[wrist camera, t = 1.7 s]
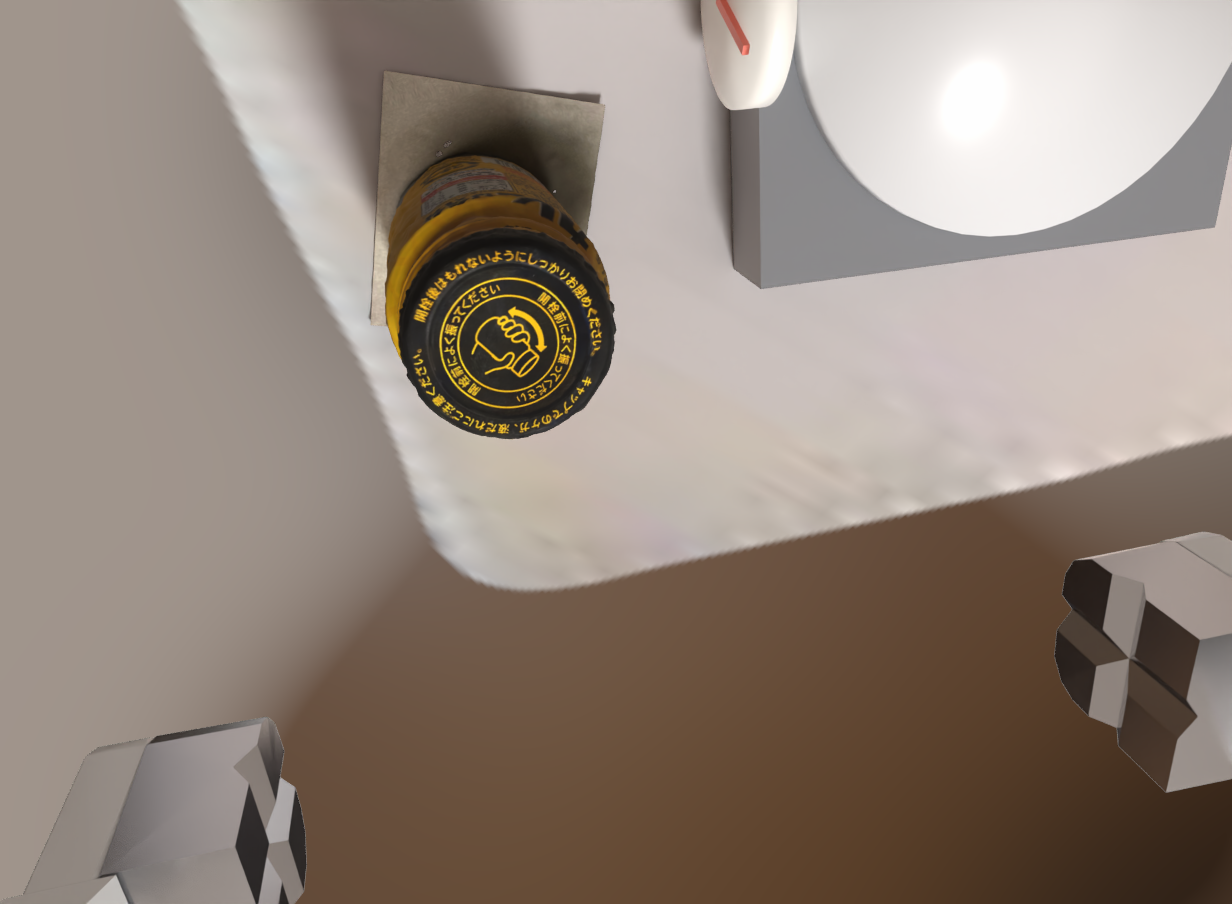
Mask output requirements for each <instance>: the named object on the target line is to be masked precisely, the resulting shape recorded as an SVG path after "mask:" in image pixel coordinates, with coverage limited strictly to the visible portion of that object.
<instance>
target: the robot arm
mask: <svg viewBox="0 0 1232 904" xmlns="http://www.w3.org/2000/svg"><path fill="white" fill-rule="evenodd" d="M1062 595H1063V597H1064V598H1065V599H1066V601H1067V602H1068V604H1069V605H1070V606H1071V608H1072V611H1071V612H1070V613H1069V615H1068V616H1067V617H1066V619H1065V620H1064V621H1063V622H1062V624H1061V625H1060V626H1059V628H1058V629H1057V634H1056V644H1055V655H1054V657H1055V660H1056V664H1057V667H1058V671H1059V675H1060V678H1061V682H1062V683H1063V685H1064V687H1065V688H1066V690H1067V692H1068V693H1069V695H1070V697H1071V698H1072V700H1073V701H1074V702H1075V703H1076V704H1077V705H1078V706H1079V707H1080V708H1081V709H1082V710H1083V711H1084V712H1085V713H1086V714H1087V715H1088V716H1089V717H1092V718H1094V719H1097V720H1099V721H1102V722H1104V723H1106V724H1109V725H1111V726H1114V727H1116V728H1117V734H1118V746H1119V747H1120V748H1121V749H1122V750H1123V751H1124V752H1125V753H1126V754H1127V755H1128V756H1129V757H1130V758H1131V759H1132V760H1133V761H1134V762H1135V763H1137V765H1138V766H1139V767H1140V768H1142V769H1143V770H1144V771H1145V772H1146V773H1147V774H1148V775H1149V776H1150V777H1151V778H1152V779H1153V780H1154V781H1155V782H1156V783H1157V784H1158V785H1159V786H1160V787H1161V788H1162V789H1163V790H1164V791H1165V792H1171V791H1176V790H1180V789H1185V788H1190V787H1195V786H1200V785H1204V784H1209V783H1214V782H1219V781H1223V780H1228V779H1232V541H1230V540H1229V539H1227V538H1226V537H1224V536H1222V535H1219V534H1213V533H1208V532H1200V533H1195V534H1191V535H1187V536H1182V537H1177V538H1173V539H1169V540H1164V541H1161V542H1159V543H1158V544H1153V545H1148V546H1143V547H1138V548H1133V549H1128V550H1123V551H1118V552H1113V553H1108V554H1103V555H1098V556H1093V557H1089V558H1083V559H1079V560H1074V561H1073V562H1072V564H1071V566H1070V567H1069V569H1068V570H1067V572H1066V574H1065V579H1064V585H1063V591H1062ZM283 756H284V749H283V746H282V743H281V740H280V737H279V734H278V731H277V728H276V725H275V723H274V722H273V721H272V720H271V719H269V718H268V717H263V718H257V719H252V720H246V721H240V722H234V723H229V724H223V725H217V726H211V727H206V728H200V729H194V730H189V731H182V732H177V733H171V734H165V735H160V736H156V737H155V738H144V739H139V740H134V741H129V742H124V743H118V744H112V745H107V746H102V747H98V748H96V749H95V750H94V751H92V752H91V753H89V754H88V755H87V756H86V757H85V759H84V761H83V763H82V765H81V767H80V769H79V771H78V773H77V776H76V778H75V780H74V783H73V784H72V787H71V789H70V792H69V793H68V796H67V798H66V800H65V802H64V805H63V807H62V809H61V811H60V813H59V816H58V818H57V820H56V822H55V824H54V827H53V829H52V831H51V833H50V835H49V838H48V840H47V842H46V844H45V847H44V849H43V851H42V853H41V855H40V858H39V860H38V862H37V864H36V866H35V869H34V871H33V873H32V875H31V878H30V880H29V882H28V885H27V886H26V889H25V891H24V893H23V895H19V896H15V897H11V898H6V899H3V900H2V901H1V902H0V904H294V903H295V902H296V901H297V900H298V898H299V897H300V896H301V895H302V893H303V892H304V885H305V875H306V865H307V864H306V837H305V827H304V822H303V816H302V810H301V806H300V802H299V799H298V795H297V792H296V788H295V787H294V786H292V785H290V784H289V783H288V782H286V781H285V780H283V779H282V778H280V774H281V768H282V762H283Z"/></svg>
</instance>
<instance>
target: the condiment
mask: <svg viewBox="0 0 1232 904" xmlns="http://www.w3.org/2000/svg"><path fill="white" fill-rule="evenodd" d="M604 110H605V105H603V104H597V103H591V102H582V101H578V100H572V99H565V98H559V97H553V96H546V95H538V94H533V93H528V92H521V91H514V90H508V89H501V88H495V87H488V86H482V85H481V86H479V85H477V84H469V83H462V82H454V81H449V80H442V79H436V78H430V77H422V76H416V75H410V74H403V73H396V72H390V71H384V77H383V96H382V116H381V134H380V156H379V173H378V193H377V213H376V232H375V251H374V271H373V290H372V309H371V325H377V326H388V328H389V331H390V334H391V338H392V341H393V343H394V345H395V347H396V350H397V352H398V355H399V357H400V358H401V360H402V363H403V364H404V366H405V367H406V368H407V377H408V379H409V380H410V381H411V383H412V384H413V386H415V387H416V389H417V392H418V395H419V397H420V398H421V399H422V400H423V402H424V403H425V404H426V405H427V406H428V407H429V408H430V409H431V410H432V411H433V412H435V413H436V414H437V415H438V416H440V417H441V418H443V419H445V420H446V421H448V422H449V423H451V424H452V425H454V426H456V427H458V428H460V429H462V430H465V431H468V432H470V433H473V434H477V435H480V436H487V437H496V438H501V439H515V438H516V439H519V438H525V437H529V436H531V435H533V434H538V433H542V432H546V431H548V430H550V429H552V428H554V427H556V426H558V425H559V424H561V423H562V422H564V421H566V420H567V419H569V418H570V417H571V416H572V415H574V414H575V413H577V412H579V411H581V410H582V409H584V408H585V406H586V405H587V404H588V402H589V401H590V399H591V398H592V396H593V395H594V394H595V392H596V390H597V389H598V387H599V386H600V384H601V383H602V381H603V379H604V378H605V376H606V374H607V373H608V370H609V368H610V364H611V359H612V354H613V352H614V344H615V341H614V334H615V332H616V326H615V322H614V318H613V313H614V311H615V310H614V304H613V303H612V302H611V301H610V295H609V284H608V280H607V275H606V272H605V270H604V267H603V264H602V262H601V259H600V257H599V255H598V252H597V251H596V249H595V248H594V245H593V243H592V242H591V241H590V240H589V239H588V238H587V236H586V235H587V229H588V221H589V216H590V210H591V200H592V193H593V186H594V181H595V171H596V166H597V157H598V151H599V145H600V139H601V133H602V125H603V118H604ZM447 141H452V143H451V144H450V145H449V147H447V148H444V146H443V145H444V144H445V142H447ZM438 151H441V152H442V155H441V156H439V157H436V153H437V152H438ZM554 190H556V193H553V191H554Z"/></svg>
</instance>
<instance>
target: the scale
mask: <svg viewBox="0 0 1232 904" xmlns="http://www.w3.org/2000/svg"><path fill="white" fill-rule="evenodd" d="M701 21H702V32H703V41H704V48H705V54H706V59H707V64H708V69H709V73H710V76H711V80H712V83H713V86H714V88H715V91H716V93H717V95H718V97H719V99H720V100H721V102H722V103H723V105H724V106H725V107H727V108H728V109H730V125H731V169H732V214H733V258H734V269H735V270H736V271H737V272H739V273H740V274H741V275H743V276H744V277H745V278H747V279H748V280H749V281H751V282H752V283H754V284H755V285H756V286H758V287H759V288H760V289H764V288H772V287H779V286H787V285H794V284H801V283H809V282H816V281H823V280H831V279H838V278H845V277H853V276H860V275H868V274H875V273H882V272H890V271H897V270H904V269H912V268H919V267H926V266H934V265H941V264H949V263H956V262H963V261H971V260H978V259H985V258H993V257H1000V256H1007V255H1015V254H1022V253H1030V252H1037V251H1044V250H1052V249H1059V248H1066V247H1074V246H1081V245H1089V244H1096V243H1103V242H1111V241H1118V240H1125V239H1133V238H1140V237H1147V236H1155V235H1162V234H1170V233H1177V232H1184V231H1192V230H1199V229H1206V228H1214V227H1215V225H1216V220H1217V215H1218V210H1219V205H1220V200H1221V195H1222V190H1223V185H1224V180H1225V175H1226V170H1227V165H1228V160H1229V155H1230V150H1231V145H1232V0H701Z"/></svg>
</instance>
